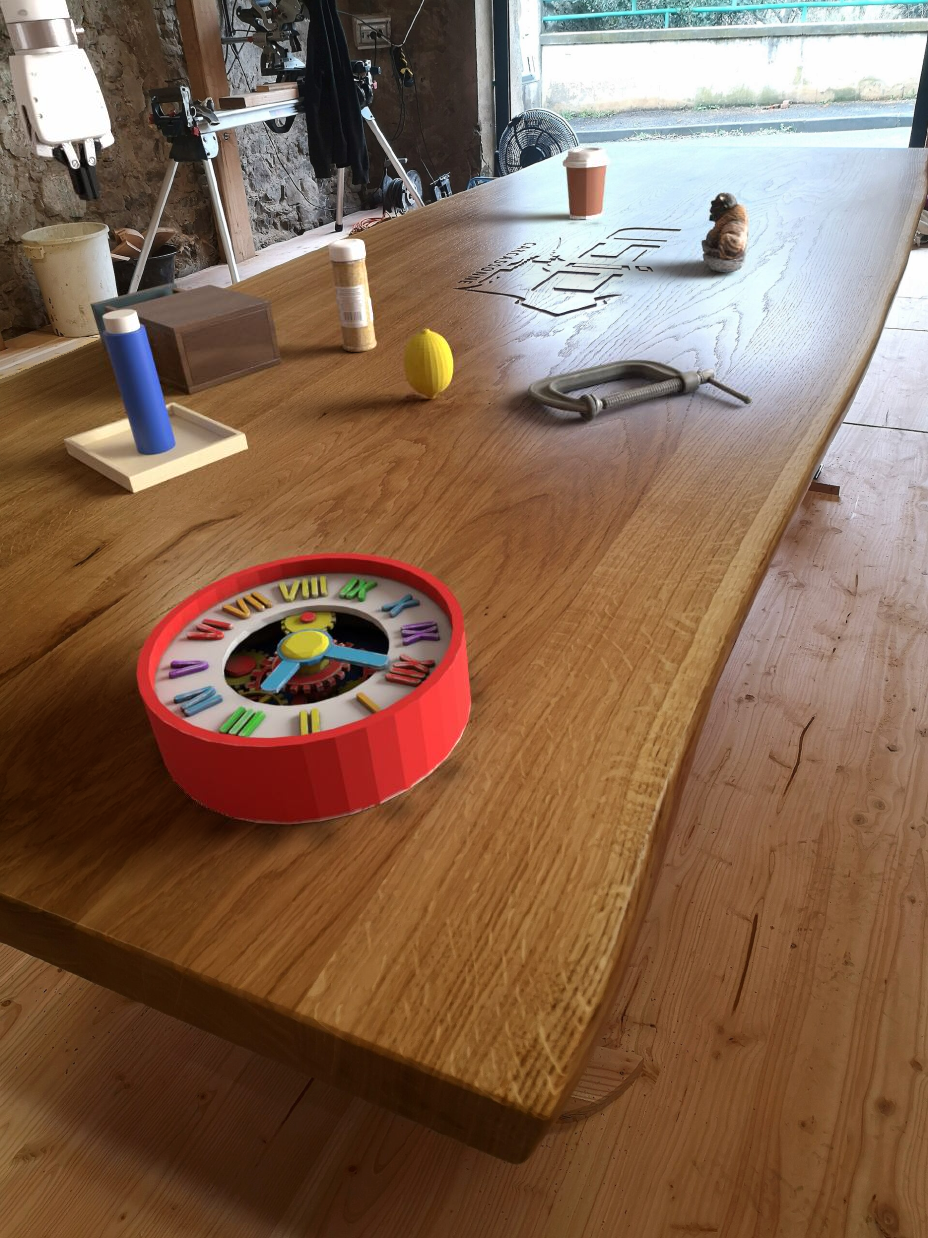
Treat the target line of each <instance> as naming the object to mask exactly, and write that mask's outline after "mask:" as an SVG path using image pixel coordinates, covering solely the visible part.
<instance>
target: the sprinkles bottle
mask: <svg viewBox="0 0 928 1238" xmlns="http://www.w3.org/2000/svg"><path fill="white" fill-rule="evenodd" d="M327 248H328V254H329V260H330V263H331V266H332V274H333V279H334V281H333V282H334V290H335V297H336V303H337V310H338V317H339V324H340V327H341V333H342V335H341V336H342V341H343V344H342V347H343V349H344V350H345V351H348V352H351V353H362V352H367V351H370V350H372V349H374V348H375V347H376V346H377V339H376V334H375V327H374V314H373V308H372V300H371V297H370V296H371V295H370V288H369V281H368V272H367V266H366V246H365V242H364V240H362V239H361V238H360V239H359V238H345V239H338V240H334V241H332V242H329V243H328V246H327Z"/></svg>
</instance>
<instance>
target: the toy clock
mask: <svg viewBox="0 0 928 1238" xmlns="http://www.w3.org/2000/svg"><path fill="white" fill-rule="evenodd" d="M465 632H466V631H465V620H464V612H463V611H462V608H461V606H460V603H459V601H458V599H457V597H456V596H455V595H454V594H453V592H452V591H451V590H450V589H449V587H448V586H447V585H446V584H444V583H443V582H442V581H440V580H439V579H438V578H437V577H436V576H434V575H433V574H431V573H430V572H427V571H425V570H423V569H421V568H419V567H417V566H416V565H413V564H410V563H407V562H404V561H401V560H399V559H395V558H389V557H385V556H380V555H375V554H365V553H355V552H337V553H335V552H327V553H314V554H302V555H297V556H292V557H286V558H280V559H276V560H272V561H268V562H263V563H261V564H257V565H253V566H251V567H247V568H245V569H242V570H239V571H237V572H233V573H231V574H229V575H226V576H224V577H223V578H220V579H218V580H216V581H214V582H211V583H209V584H208V585H206V586H204V587H203V588H201V589H199V590H198V591H196V592H194V593H192V594H191V595H189V596H188V597H186V598H185V599H184V600H183V601H180V603H178V604H177V605H176V606H175V607H174V608H172V609H171V610H170V611H169V612H168V613H167V614H166V615H165V616H164V617H163V618H162V619H161V620H160V621H159V622H158V623H157V624H156V625H155V626H154V628H153V629H152V630H151V633H150V634H149V635H148V637H147V638H146V640H145V641H144V644H143V646H142V648H141V650H140V653H139V656H138V659H137V666H136V673H135V674H136V679H137V686H138V691H139V694H140V697H141V699H142V702H143V705H144V709H145V711H146V714H147V717H148V720H149V722H150V723H149V724H151V725H150V726H151V729H152V732H153V734H154V737H155V739H156V743H157V746H158V749H159V751H160V755H161V758H162V759H163V763H164V766H165V768H166V767H167V768H166V770H167V769H168V770H167V772H168V773H169V772H170V773H169V775H170V774H171V775H170V777H171V776H172V777H171V779H172V778H173V779H172V780H173V781H174V780H175V782H176V783H177V784H178V785H179V786H180V787H181V788H182V789H183V790H184V791H185V792H186V793H187V794H188V795H189V796H191V797H193V799H192V798H190V799H191V800H193V801H195V800H194V799H196V800H197V801H198V802H200V803H202V804H200V803H199V804H200V805H201V806H203V805H204V806H203V807H204V808H205V809H208V808H210V809H209V810H210V811H212V812H216V811H219V812H220V813H219V812H216V813H217V814H221V815H223V816H226V817H229V818H231V819H236V820H241V821H247V822H253V823H256V824H272V825H296V824H306V823H307V824H309V823H319V822H324V821H329V820H334V819H337V818H343V817H346V816H351V815H354V814H356V813H360V812H363V811H365V810H368V809H371V808H374V807H376V806H379V805H382V804H383V803H386V802H387V801H389V800H391V799H393V798H395V797H398V796H399V795H401V794H403V793H405V792H407V791H408V790H410V789H411V788H412V787H414V786H415V785H417V784H419V783H420V782H421V781H423V780H424V779H425V778H427V777H428V776H430V774H432V773H433V772H434V771H435V770H436V769H437V768H438V767H439V766H440V765H441V764H442V763H443V762H444V761H445V760H446V759H448V757H449V756H450V754H451V753H452V751H453V750H454V748H455V747H456V745H457V744H458V743H459V741H460V740H461V738H462V736H463V733H464V731H465V728H466V726H467V724H468V722H469V719H470V717H469V716H470V712H471V706H472V698H471V687H470V677H469V664H468V663H469V662H468V654H467V653H468V652H467V641H466V633H465ZM175 782H174V783H175ZM176 783H175V784H176ZM177 784H176V785H177ZM178 785H177V786H178ZM179 786H178V787H179ZM180 787H179V788H180ZM181 788H180V789H181ZM182 789H181V790H182ZM183 790H182V791H183ZM184 791H183V792H184ZM185 792H184V793H185ZM186 793H185V794H186ZM187 794H186V795H187ZM188 795H187V796H188ZM189 796H188V797H189ZM197 801H195V802H196V803H198V802H197ZM205 806H206V807H205ZM207 807H208V808H207ZM211 809H212V810H211ZM213 810H215V811H213ZM224 814H225V815H224ZM232 817H233V818H232Z"/></svg>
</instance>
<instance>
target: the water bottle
mask: <svg viewBox="0 0 928 1238" xmlns="http://www.w3.org/2000/svg"><path fill="white" fill-rule="evenodd" d="M102 318H103V321H104V324H105V328H106V330H105V331H103V336H104V340H105V343H106V346H107V350H108V351H107V353H108V356H109V359H110V363H111V367H112V370H113V373H114V376H115V379H116V384H117V386H118V390H119V393H120V397H121V400H122V405H123V407H124V410H125V414H126V416H127V417H126V418H128V421H129V424H130V427H131V431H132V434H133V437H134V441H135V444H136V448H137V451H138V452H139V453H141V454H145V455H153V454H159V453H163V452H166V451H168V450H170V449H172V448H173V447H174V446H175V445H176V442H175V438H174V435H173V431H172V427H171V424H170V420H169V416H168V412H167V409H166V402H165V397H164V395H163V391H162V387H161V384H160V383H161V382H159V379H158V375H157V371H156V368H155V364H154V360H153V357H152V353H151V349H150V345H149V342H148V338H147V334H146V330H145V327H144V325H142V324H139V321H138V317H137V313H136V311H135V310H130V309H124V310H117V311H112V312H109V313H106V314H104V315H103V317H102Z"/></svg>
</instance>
